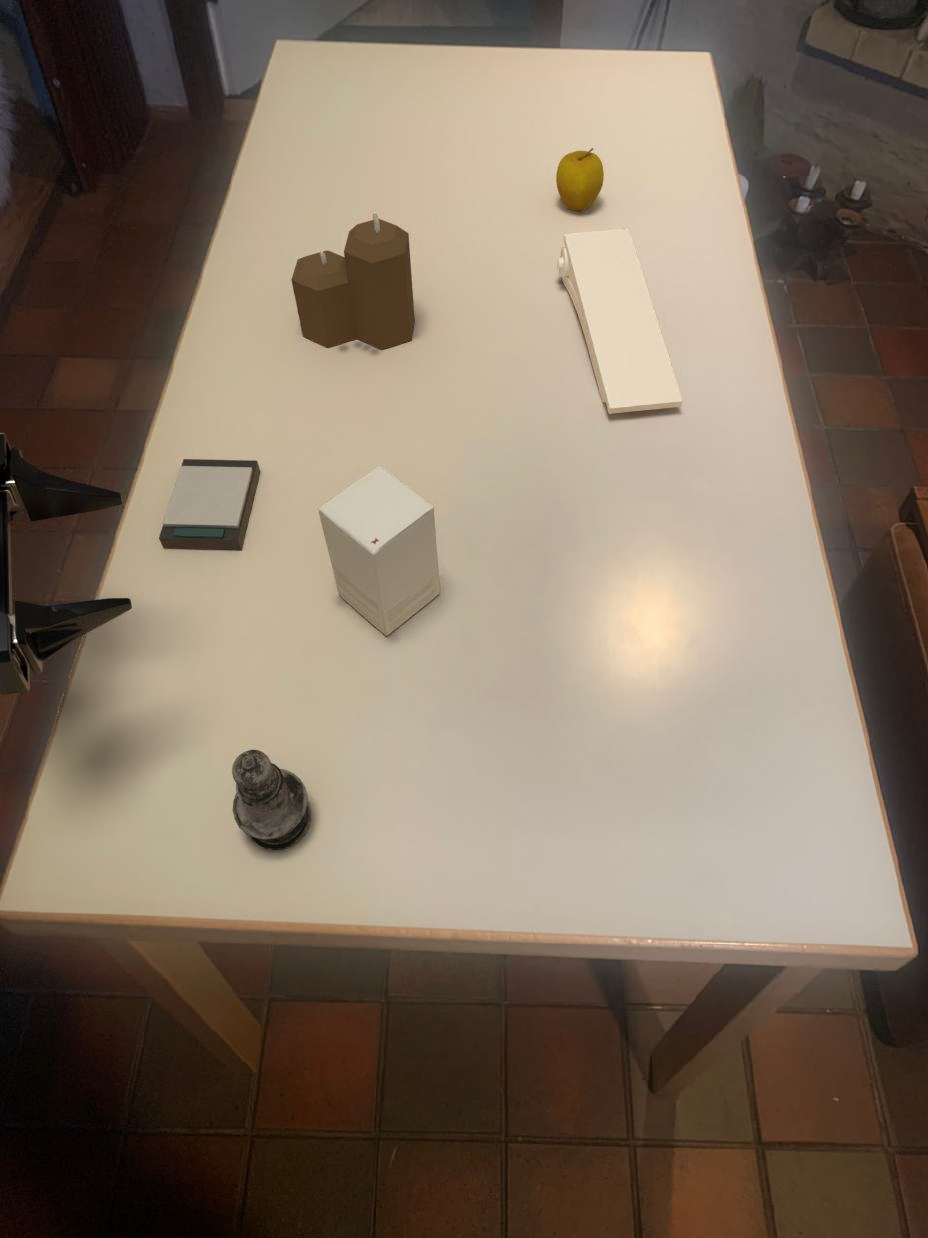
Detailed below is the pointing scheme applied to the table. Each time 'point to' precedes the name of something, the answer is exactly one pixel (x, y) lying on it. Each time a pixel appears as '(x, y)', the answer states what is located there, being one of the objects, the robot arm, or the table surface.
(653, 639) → the table surface
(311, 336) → the candle
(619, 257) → the wall bracket
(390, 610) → the white packaging box
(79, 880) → the table surface
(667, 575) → the table surface
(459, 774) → the table surface
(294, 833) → the pepper mill
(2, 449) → the robot arm
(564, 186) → the apple
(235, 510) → the kitchen scale
